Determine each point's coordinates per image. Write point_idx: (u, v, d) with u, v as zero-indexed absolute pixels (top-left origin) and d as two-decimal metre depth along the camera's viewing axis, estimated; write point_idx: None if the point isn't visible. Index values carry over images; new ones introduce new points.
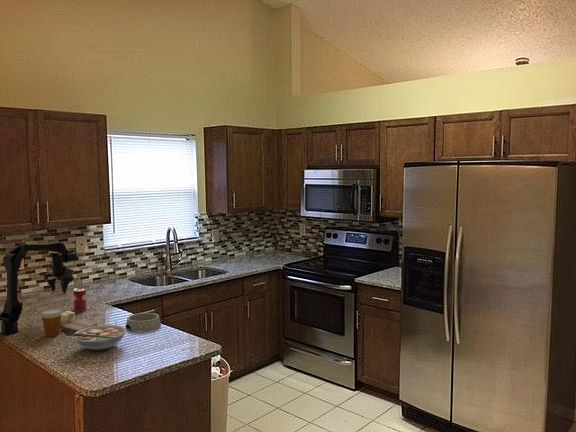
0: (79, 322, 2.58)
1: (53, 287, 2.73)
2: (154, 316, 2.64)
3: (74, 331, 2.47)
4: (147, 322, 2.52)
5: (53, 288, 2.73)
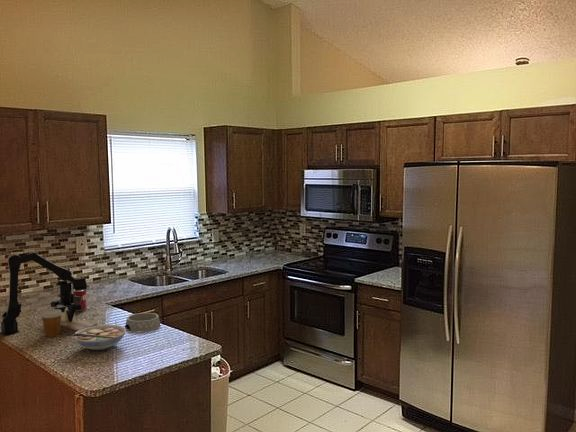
0: (79, 322, 2.58)
1: None
2: (154, 316, 2.64)
3: (74, 331, 2.47)
4: (147, 322, 2.52)
5: None
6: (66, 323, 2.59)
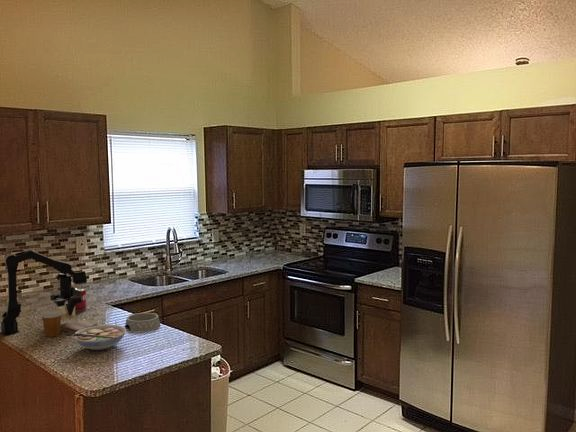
0: (79, 322, 2.58)
1: None
2: (153, 316, 2.64)
3: (74, 331, 2.47)
4: (146, 322, 2.52)
5: None
6: (66, 316, 2.58)
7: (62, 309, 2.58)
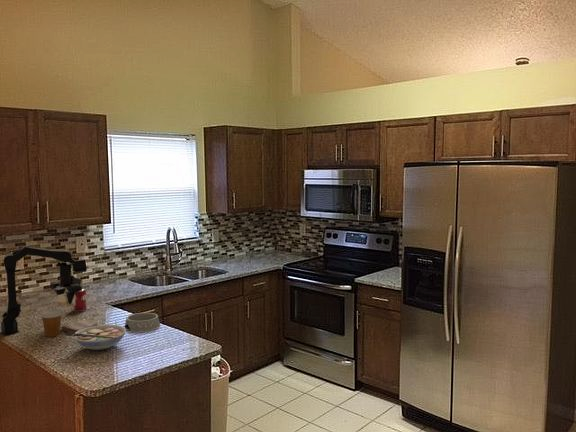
0: (79, 322, 2.58)
1: None
2: (153, 316, 2.64)
3: (74, 331, 2.47)
4: (146, 322, 2.52)
5: None
6: (66, 305, 2.57)
7: (62, 297, 2.58)
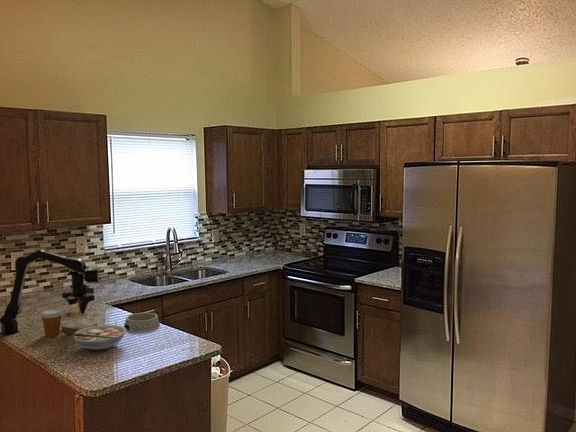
0: (79, 322, 2.58)
1: None
2: (153, 316, 2.64)
3: (74, 331, 2.47)
4: (146, 322, 2.52)
5: None
6: (78, 315, 2.50)
7: (74, 307, 2.50)
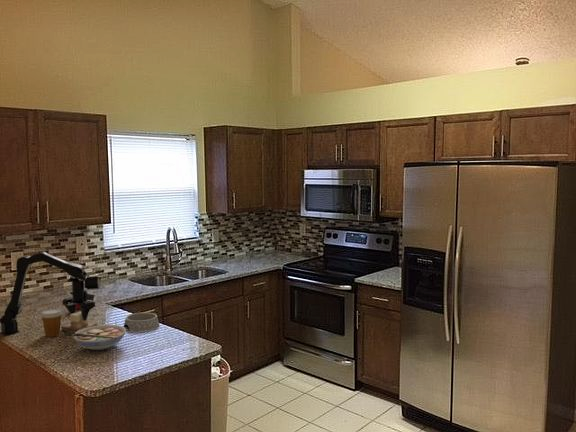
0: None
1: None
2: (152, 316, 2.64)
3: (74, 331, 2.47)
4: (145, 322, 2.52)
5: None
6: (79, 324, 2.50)
7: (75, 316, 2.50)
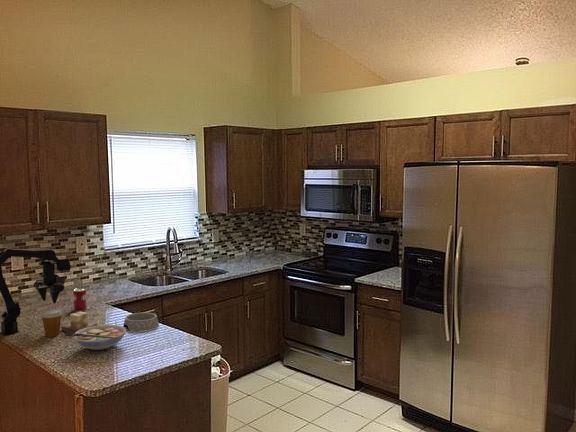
0: None
1: (44, 296, 2.61)
2: (152, 316, 2.65)
3: (74, 331, 2.47)
4: (145, 322, 2.52)
5: (44, 297, 2.61)
6: (79, 324, 2.50)
7: (75, 316, 2.50)
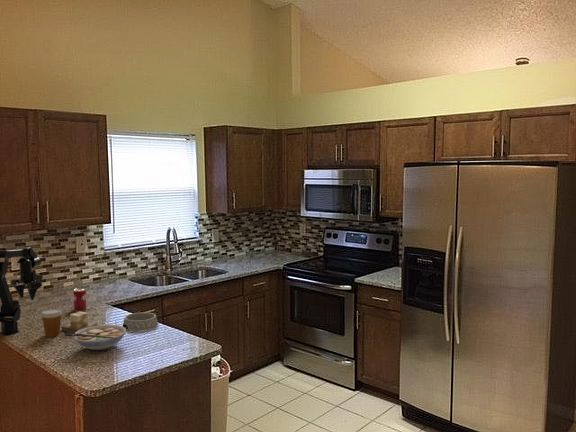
0: None
1: (21, 293, 2.65)
2: (151, 316, 2.65)
3: (74, 331, 2.47)
4: (144, 322, 2.52)
5: (21, 295, 2.65)
6: (79, 324, 2.50)
7: (75, 316, 2.50)
